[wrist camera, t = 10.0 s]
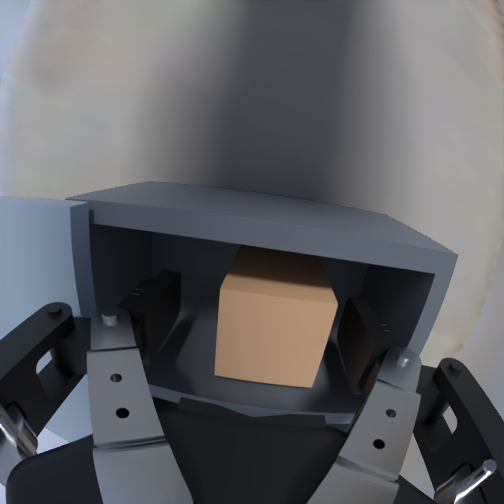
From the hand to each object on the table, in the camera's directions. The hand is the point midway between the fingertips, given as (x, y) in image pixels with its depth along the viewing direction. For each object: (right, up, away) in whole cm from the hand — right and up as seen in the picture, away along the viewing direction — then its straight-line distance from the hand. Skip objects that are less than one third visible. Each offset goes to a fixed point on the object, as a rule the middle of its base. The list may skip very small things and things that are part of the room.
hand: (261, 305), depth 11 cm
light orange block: (+1, +1, +4) cm, 4 cm away
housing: (-1, -2, +6) cm, 6 cm away
